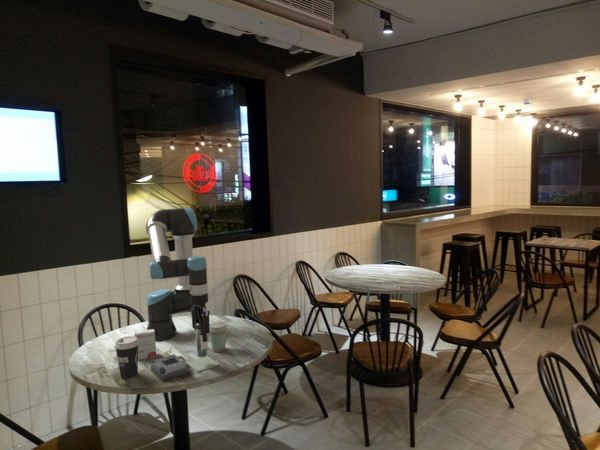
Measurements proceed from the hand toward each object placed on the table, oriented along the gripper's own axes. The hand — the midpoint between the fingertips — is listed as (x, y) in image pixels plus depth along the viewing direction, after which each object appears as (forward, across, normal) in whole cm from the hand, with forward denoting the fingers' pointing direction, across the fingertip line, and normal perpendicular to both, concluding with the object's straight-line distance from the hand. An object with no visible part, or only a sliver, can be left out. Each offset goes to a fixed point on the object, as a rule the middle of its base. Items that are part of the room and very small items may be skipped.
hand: (201, 346), depth 182 cm
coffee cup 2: (+8, -10, +13) cm, 18 cm away
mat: (+8, 0, 0) cm, 8 cm away
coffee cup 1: (+8, -12, -27) cm, 31 cm away
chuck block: (+8, -3, -13) cm, 16 cm away
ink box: (+8, -26, -15) cm, 31 cm away
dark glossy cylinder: (+4, 0, 0) cm, 4 cm away
